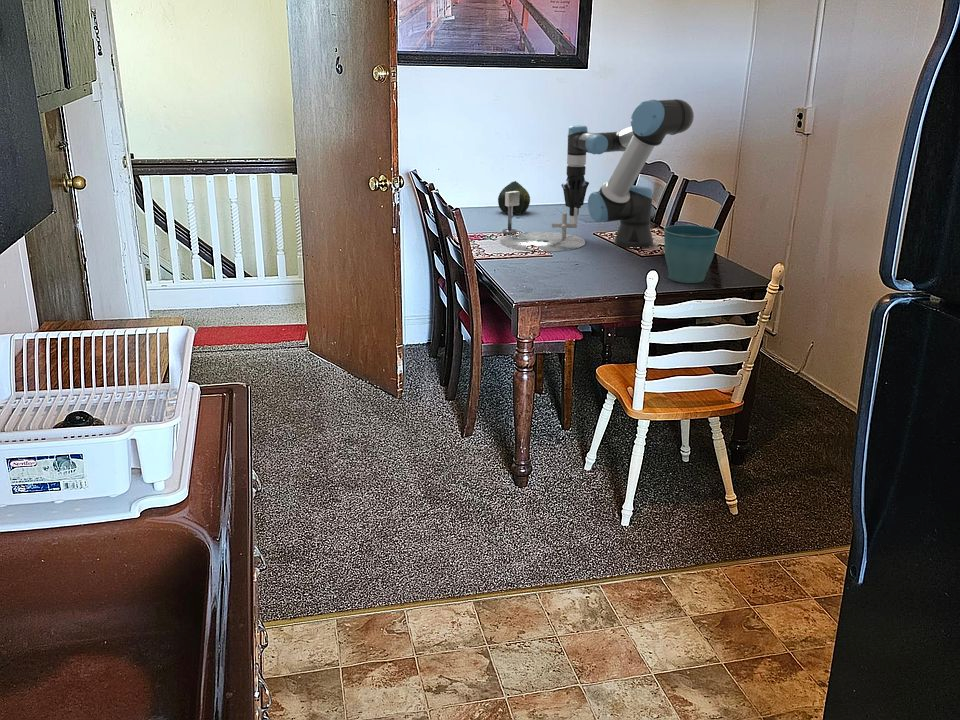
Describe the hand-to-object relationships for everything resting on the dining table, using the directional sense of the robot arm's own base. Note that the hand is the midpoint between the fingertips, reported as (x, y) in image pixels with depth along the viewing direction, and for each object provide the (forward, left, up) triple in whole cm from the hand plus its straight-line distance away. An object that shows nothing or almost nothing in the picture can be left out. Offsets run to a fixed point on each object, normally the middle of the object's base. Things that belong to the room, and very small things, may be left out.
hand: (573, 223), depth 352 cm
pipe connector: (0, +5, -5) cm, 7 cm away
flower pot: (-72, +11, -6) cm, 73 cm away
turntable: (0, +16, -6) cm, 17 cm away
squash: (+55, -11, -6) cm, 56 cm away
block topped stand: (+21, +17, -6) cm, 28 cm away
